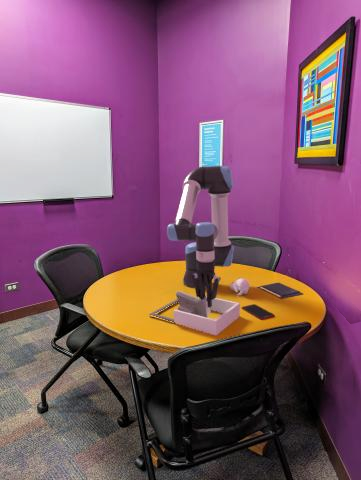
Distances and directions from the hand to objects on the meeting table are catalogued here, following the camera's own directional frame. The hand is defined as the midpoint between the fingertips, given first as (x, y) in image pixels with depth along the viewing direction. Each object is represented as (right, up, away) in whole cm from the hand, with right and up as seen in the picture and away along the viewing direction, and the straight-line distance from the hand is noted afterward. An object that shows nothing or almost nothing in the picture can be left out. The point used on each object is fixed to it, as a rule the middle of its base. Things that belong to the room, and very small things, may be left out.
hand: (206, 313), depth 146 cm
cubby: (0, -3, +1) cm, 3 cm away
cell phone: (+23, -1, +7) cm, 24 cm away
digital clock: (-6, -3, +4) cm, 8 cm away
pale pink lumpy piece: (+19, +4, +31) cm, 37 cm away
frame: (-13, -1, +10) cm, 17 cm away
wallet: (+41, +4, +33) cm, 53 cm away
